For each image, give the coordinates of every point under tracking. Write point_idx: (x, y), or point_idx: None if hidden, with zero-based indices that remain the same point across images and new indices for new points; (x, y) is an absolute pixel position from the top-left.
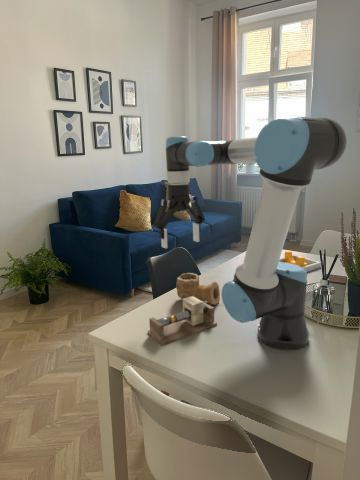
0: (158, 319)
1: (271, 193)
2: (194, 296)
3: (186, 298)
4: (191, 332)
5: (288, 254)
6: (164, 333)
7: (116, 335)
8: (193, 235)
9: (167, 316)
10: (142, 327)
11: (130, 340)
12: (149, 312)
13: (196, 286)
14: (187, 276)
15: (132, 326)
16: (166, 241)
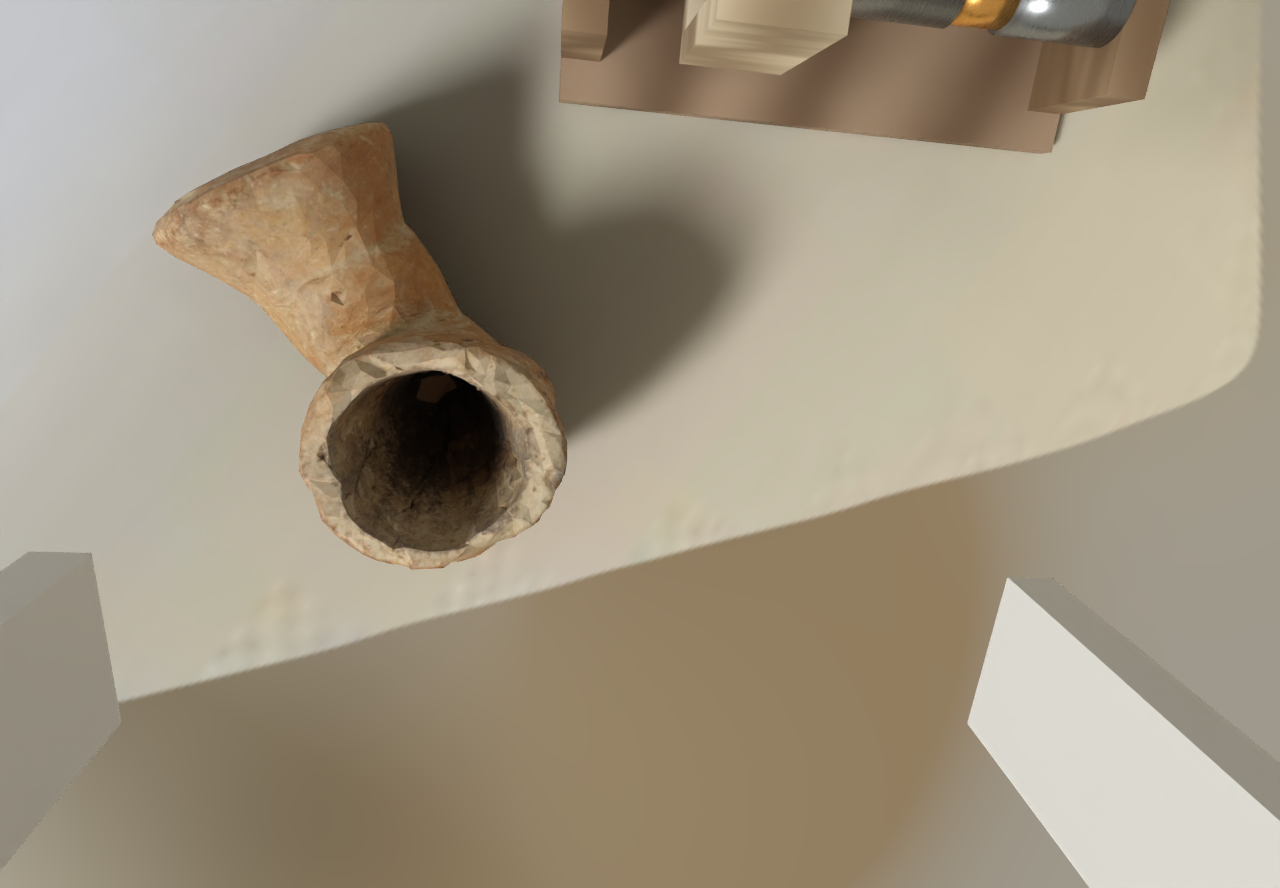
0: (1123, 11)
1: None
2: (459, 310)
3: (809, 11)
4: None
5: None
6: None
7: (1189, 272)
8: (24, 821)
9: (1029, 6)
10: (1010, 250)
11: (1179, 146)
12: (828, 414)
13: (408, 333)
14: (389, 520)
15: (1044, 310)
16: (1142, 675)
